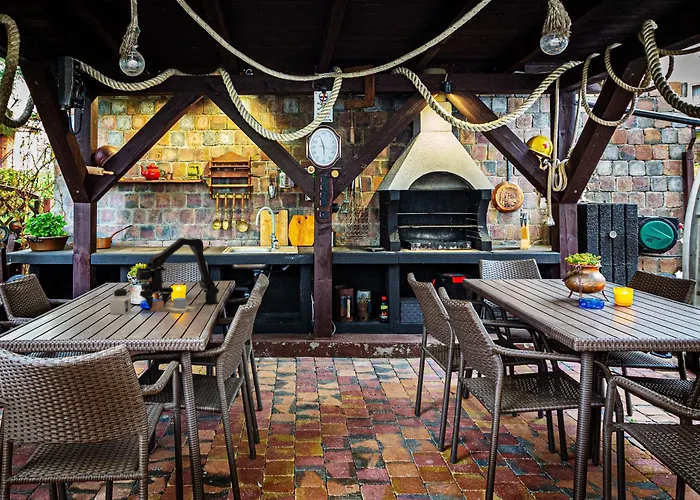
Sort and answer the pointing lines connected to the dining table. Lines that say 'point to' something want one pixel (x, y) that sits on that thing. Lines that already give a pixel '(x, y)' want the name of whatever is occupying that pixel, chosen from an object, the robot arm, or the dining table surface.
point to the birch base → (179, 311)
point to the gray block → (179, 303)
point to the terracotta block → (157, 305)
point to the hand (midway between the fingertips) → (157, 307)
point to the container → (120, 302)
